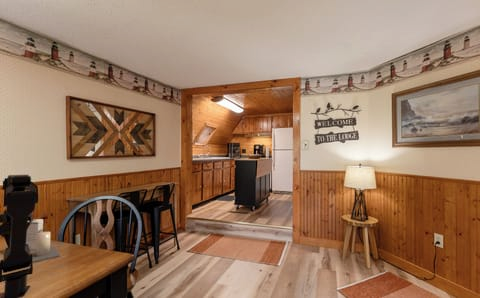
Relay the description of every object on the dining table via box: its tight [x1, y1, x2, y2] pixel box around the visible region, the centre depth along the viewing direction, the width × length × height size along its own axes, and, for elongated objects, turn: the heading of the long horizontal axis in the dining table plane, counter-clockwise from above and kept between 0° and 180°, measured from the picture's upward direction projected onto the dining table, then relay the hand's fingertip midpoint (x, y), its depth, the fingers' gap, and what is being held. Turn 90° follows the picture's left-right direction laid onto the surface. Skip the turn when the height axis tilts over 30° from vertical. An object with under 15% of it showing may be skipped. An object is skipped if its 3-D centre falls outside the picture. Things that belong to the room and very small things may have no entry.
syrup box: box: [26, 218, 44, 251], centre depth 123 cm, size 6×6×14 cm
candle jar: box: [34, 231, 51, 256], centre depth 115 cm, size 6×6×10 cm
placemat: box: [30, 245, 61, 264], centre depth 115 cm, size 16×11×1 cm
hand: (15, 244), depth 94 cm, fingers open, 9 cm apart
